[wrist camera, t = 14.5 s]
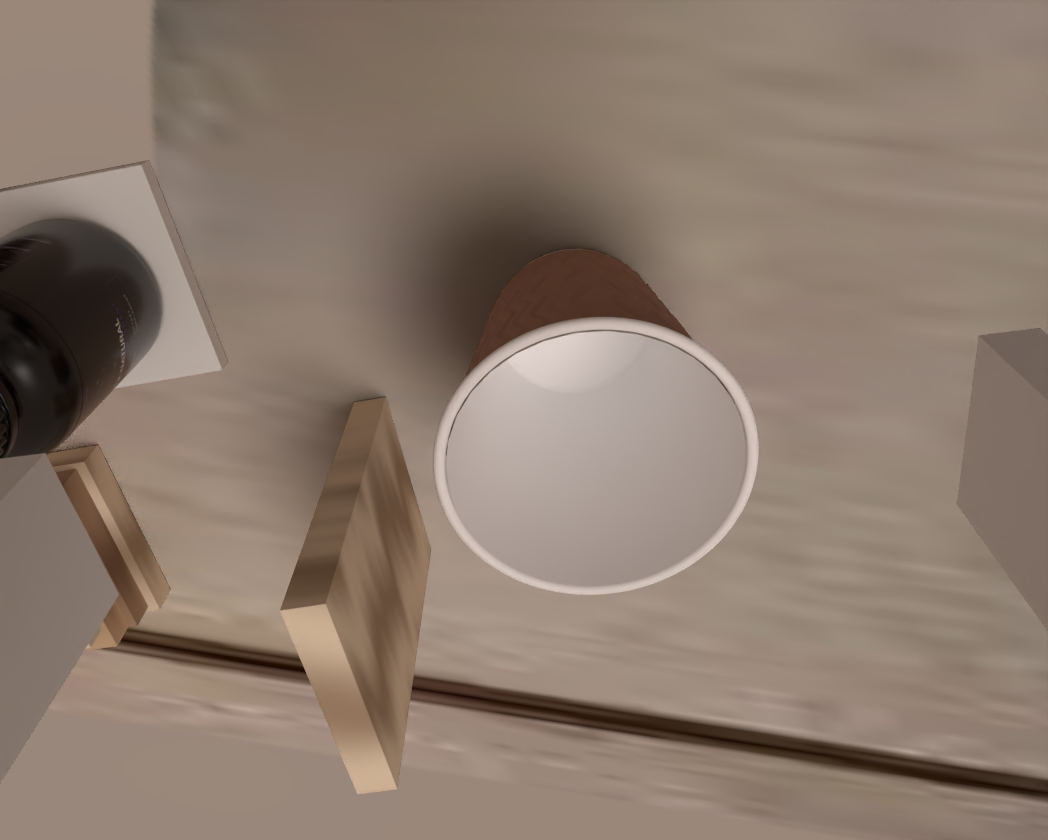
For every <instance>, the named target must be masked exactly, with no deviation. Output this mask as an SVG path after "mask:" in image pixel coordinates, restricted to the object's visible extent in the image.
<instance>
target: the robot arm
mask: <svg viewBox="0 0 1048 840" xmlns="http://www.w3.org/2000/svg"><path fill="white" fill-rule="evenodd" d="M957 505H958V506H959V508H960V509H961V510H962V512H963V513H964V515H965V516H966V517H967V519H968V520H969V522H970V523H971V524H972V526H973V527H974V529H975V530H976V531H977V533H978V534H979V536H980V537H981V538H982V540H983V541H984V543H985V544H986V545H987V547H988V548H989V550H990V551H991V552H992V554H993V555H994V557H995V558H996V559H997V561H998V562H999V564H1000V565H1001V566H1002V568H1003V569H1004V571H1005V572H1006V573H1007V575H1008V576H1009V578H1010V579H1011V580H1012V582H1013V583H1014V585H1015V586H1016V587H1017V589H1018V590H1019V592H1020V593H1021V594H1022V596H1023V597H1024V599H1025V600H1026V601H1027V603H1028V604H1029V606H1030V607H1031V608H1032V610H1033V611H1034V613H1035V614H1036V615H1037V617H1038V618H1039V620H1040V621H1041V622H1042V624H1043V625H1044V627H1045V628H1046V629H1047V631H1048V334H1046V333H1045V332H1044V331H1043V330H1041V329H1040V328H1035V329H1027V330H1019V331H1011V332H1003V333H995V334H987V335H979V337H978V344H977V352H976V360H975V368H974V375H973V383H972V391H971V399H970V406H969V414H968V422H967V430H966V437H965V445H964V453H963V461H962V468H961V476H960V484H959V491H958V499H957ZM118 596H119V594H118V592H117V590H116V588H115V586H114V584H113V582H112V580H111V578H110V576H109V574H108V572H107V570H106V569H105V567H104V565H103V563H102V561H101V559H100V557H99V555H98V553H97V551H96V549H95V547H94V546H93V544H92V542H91V540H90V538H89V536H88V534H87V532H86V530H85V528H84V526H83V524H82V522H81V521H80V519H79V517H78V515H77V513H76V511H75V509H74V507H73V505H72V503H71V501H70V499H69V497H68V496H67V494H66V492H65V490H64V488H63V486H62V484H61V482H60V480H59V478H58V476H57V474H56V472H55V471H54V469H53V467H52V465H51V463H50V461H49V459H48V457H47V455H46V453H42V454H34V455H26V456H18V457H10V458H2V459H0V783H1V781H2V780H3V778H4V777H5V775H6V774H7V772H8V770H9V769H10V767H11V766H12V764H13V763H14V761H15V759H16V758H17V756H18V755H19V753H20V751H21V750H22V748H23V747H24V745H25V744H26V742H27V740H28V739H29V737H30V735H31V734H32V732H33V731H34V729H35V728H36V726H37V724H38V723H39V721H40V720H41V718H42V717H43V715H44V713H45V712H46V710H47V709H48V707H49V705H50V704H51V702H52V701H53V699H54V697H55V696H56V694H57V693H58V691H59V690H60V688H61V686H62V685H63V683H64V682H65V680H66V678H67V677H68V675H69V674H70V672H71V670H72V669H73V667H74V666H75V664H76V663H77V661H78V659H79V658H80V656H81V655H82V653H83V651H84V650H85V648H86V647H87V645H88V643H89V642H90V640H91V639H92V637H93V636H94V634H95V632H96V631H97V629H98V628H99V626H100V624H101V623H102V621H103V620H104V618H105V616H106V615H107V613H108V612H109V610H110V609H111V607H112V605H113V604H114V602H115V601H116V599H117V597H118Z"/></svg>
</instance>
